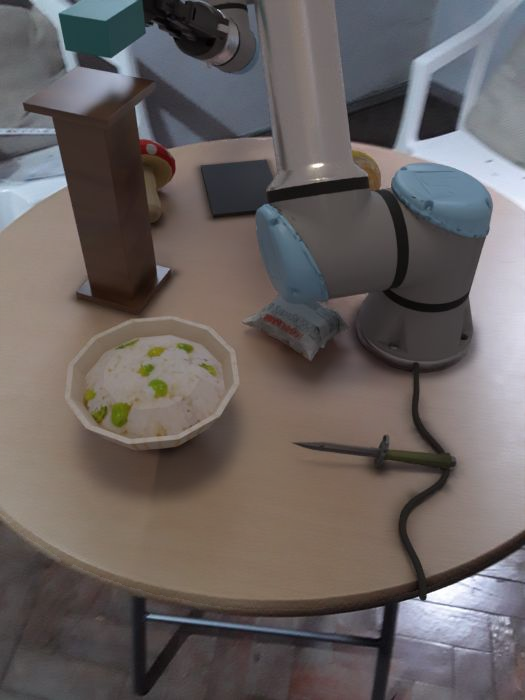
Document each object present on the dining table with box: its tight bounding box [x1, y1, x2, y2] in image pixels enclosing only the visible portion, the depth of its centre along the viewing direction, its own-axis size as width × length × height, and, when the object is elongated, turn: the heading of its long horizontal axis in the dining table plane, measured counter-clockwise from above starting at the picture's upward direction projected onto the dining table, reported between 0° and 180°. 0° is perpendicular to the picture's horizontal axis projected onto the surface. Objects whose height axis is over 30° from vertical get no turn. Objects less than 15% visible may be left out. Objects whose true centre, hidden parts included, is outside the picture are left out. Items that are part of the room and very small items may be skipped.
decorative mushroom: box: [139, 138, 177, 224], centre depth 111 cm, size 11×11×15 cm
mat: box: [200, 158, 275, 218], centre depth 118 cm, size 16×12×1 cm
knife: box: [291, 434, 457, 471], centre depth 75 cm, size 19×2×5 cm, turn 87°
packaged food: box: [241, 294, 351, 362], centre depth 90 cm, size 9×12×5 cm
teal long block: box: [58, 0, 157, 59], centre depth 81 cm, size 18×6×4 cm, turn 158°
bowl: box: [64, 315, 240, 451], centre depth 77 cm, size 19×19×10 cm
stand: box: [22, 65, 172, 316], centre depth 89 cm, size 11×11×29 cm
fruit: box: [351, 149, 382, 191], centre depth 110 cm, size 10×11×10 cm
